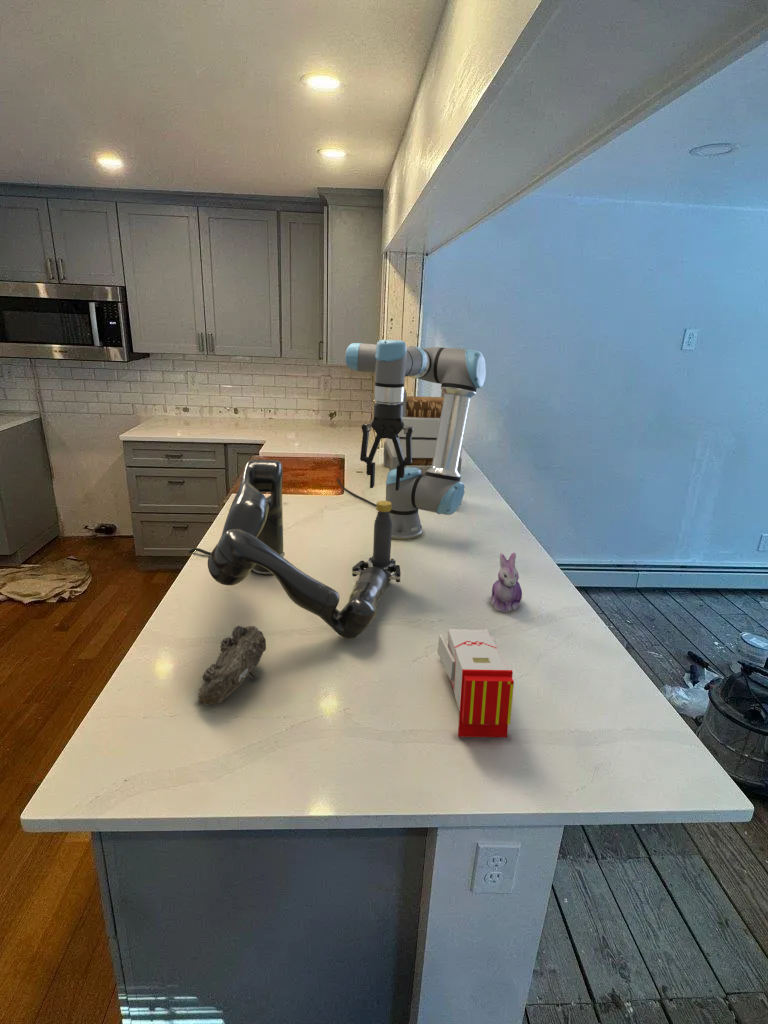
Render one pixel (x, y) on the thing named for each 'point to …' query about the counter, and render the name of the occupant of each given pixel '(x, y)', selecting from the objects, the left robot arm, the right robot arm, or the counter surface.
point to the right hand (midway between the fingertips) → (384, 487)
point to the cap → (384, 506)
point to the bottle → (382, 540)
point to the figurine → (506, 586)
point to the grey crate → (418, 431)
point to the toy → (478, 682)
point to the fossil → (232, 664)
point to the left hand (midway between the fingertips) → (383, 560)
